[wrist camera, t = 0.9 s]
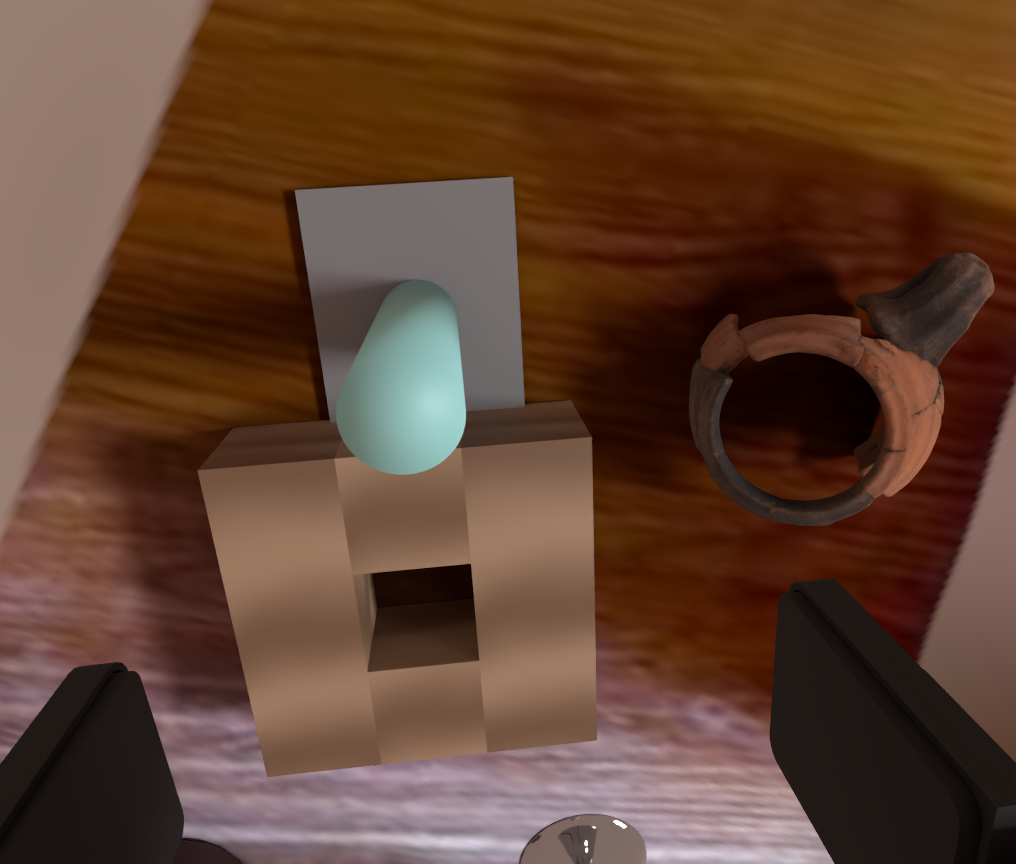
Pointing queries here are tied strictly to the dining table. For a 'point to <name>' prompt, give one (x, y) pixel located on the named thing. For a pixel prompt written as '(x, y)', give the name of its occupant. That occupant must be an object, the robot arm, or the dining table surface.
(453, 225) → the mat
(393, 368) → the peg
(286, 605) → the hole block
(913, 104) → the dining table surface
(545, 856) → the wine glass
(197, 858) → the bottle
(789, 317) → the brown hollow rounded piece
